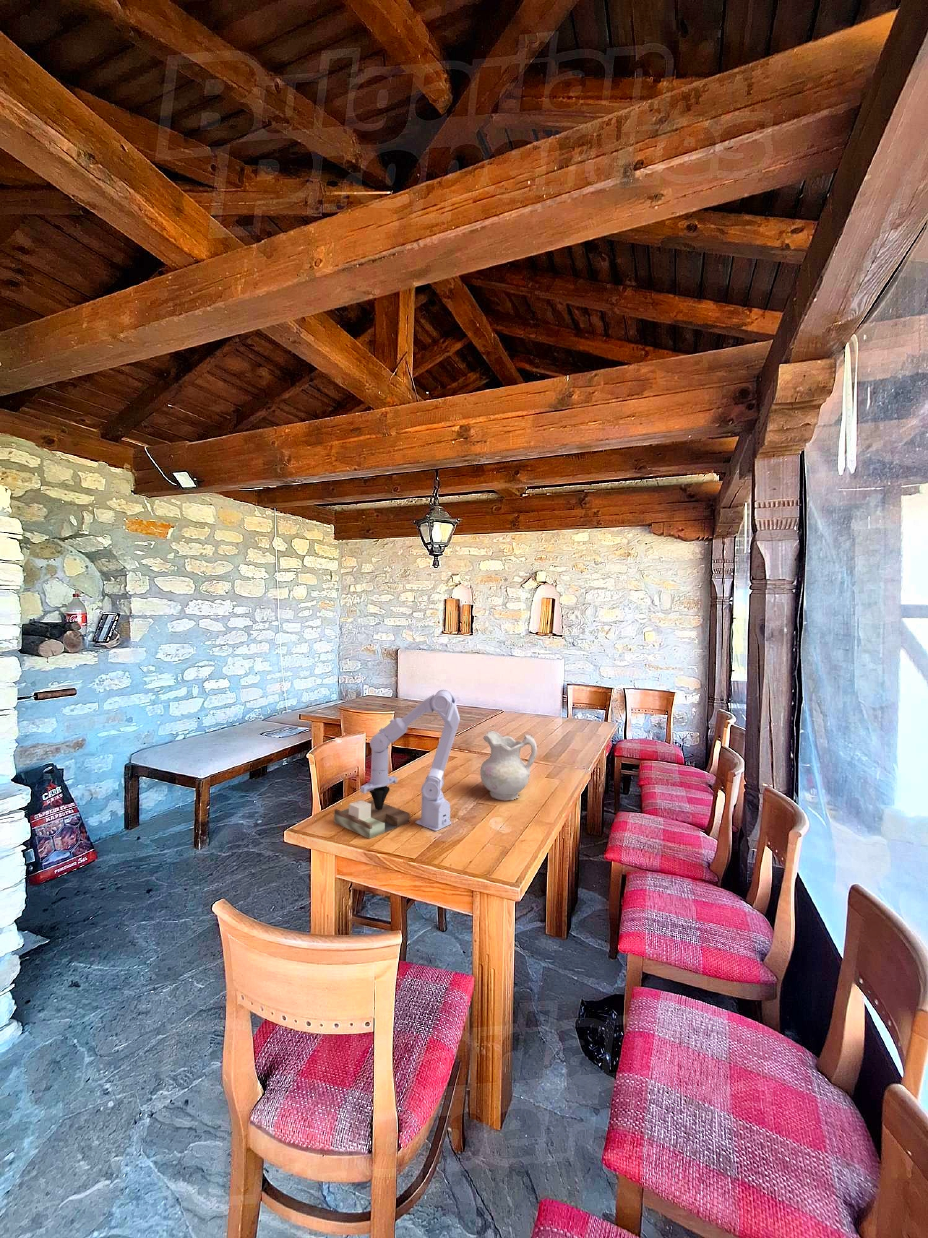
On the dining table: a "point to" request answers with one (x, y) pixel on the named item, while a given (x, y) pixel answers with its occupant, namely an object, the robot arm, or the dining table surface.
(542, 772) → the dining table surface
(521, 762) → the ceramic pitcher
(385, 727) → the robot arm
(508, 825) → the dining table surface
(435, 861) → the dining table surface
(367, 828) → the box
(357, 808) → the cream block
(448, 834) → the dining table surface
